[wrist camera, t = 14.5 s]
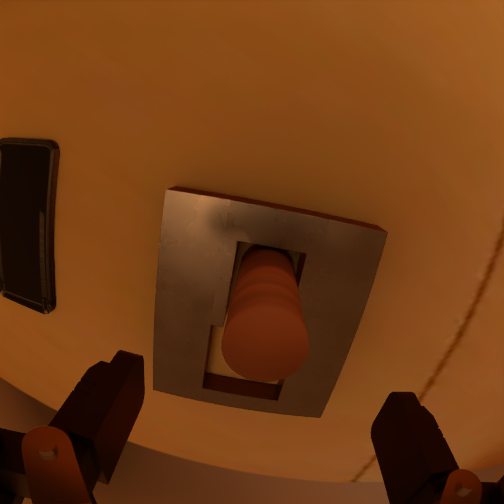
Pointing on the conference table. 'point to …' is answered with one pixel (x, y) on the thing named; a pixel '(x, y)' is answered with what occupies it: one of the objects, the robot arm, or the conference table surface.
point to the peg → (265, 318)
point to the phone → (28, 221)
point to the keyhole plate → (219, 284)
